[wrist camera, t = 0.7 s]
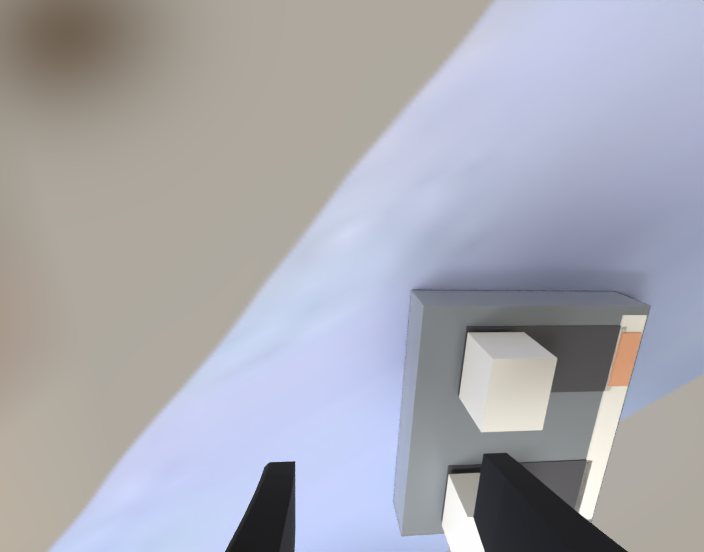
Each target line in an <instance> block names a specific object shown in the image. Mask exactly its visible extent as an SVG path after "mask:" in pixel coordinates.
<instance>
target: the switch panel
mask: <svg viewBox="0 0 704 552" xmlns="http://www.w3.org/2000/svg"><path fill="white" fill-rule="evenodd" d="M649 310H650V306H649V305H647V304H644V303H642V302H639V301H637V300H635V299H632V298H630V297H627V296H625V295H622V294H620V293H617V292H615V291H478V290H411V298H410V310H409V321H408V333H407V345H406V356H405V368H404V380H403V391H402V403H401V414H400V426H399V438H398V449H397V461H396V473H395V484H394V496H393V503H394V508H395V512H396V516H397V520H398V524H399V529H400V533H401V536H414V535H429V534H445V533H444V530H443V527H442V521H443V513H444V506H445V498H446V491H447V483H448V476H449V474H463V473H480V472H481V466H482V460H483V454H487V453H507V454H509V455H510V456H511V457H512V458H514V459H515V460H516V461H517V462H519V463H520V464H521V465H522V466H523V467H525V468H526V469H527V470H528V471H529V472H531V473H532V474H533V475H534V476H535V477H536V478H538V479H539V480H540V481H541V482H542V483H544V484H545V485H546V486H547V487H548V488H549V489H551V490H552V491H553V492H554V493H555V494H557V495H558V496H559V497H560V498H561V499H562V500H564V501H565V502H566V503H567V504H568V505H570V506H571V507H572V508H573V509H575V510H576V511H577V512H578V513H579V514H581V515H582V516H583V517H584V518H585V519H587V520H588V521H589V522H590V523H591V522H592V519H593V515H594V511H595V508H596V504H597V500H598V497H599V493H600V489H601V486H602V482H603V478H604V475H605V471H606V467H607V464H608V460H609V456H610V453H611V449H612V445H613V441H614V438H615V434H616V430H617V427H618V423H619V420H620V416H621V413H622V409H623V405H624V402H625V398H626V394H627V391H628V387H629V383H630V380H631V376H632V372H633V369H634V365H635V361H636V358H637V354H638V350H639V347H640V343H641V339H642V336H643V332H644V328H645V325H646V321H647V317H648V314H649ZM468 332H524V333H526V334H527V335H528V336H530V337H531V338H532V339H533V340H535V341H536V342H537V343H539V344H540V345H541V346H542V347H544V348H545V349H546V350H548V351H549V352H550V353H551V354H553V355H554V356H555V357H557V363H556V368H555V372H554V377H553V382H552V387H551V391H550V396H549V401H548V406H547V411H546V415H545V420H544V425H543V430H532V431H504V432H481V431H480V430H479V428H478V427H477V425H476V423H475V422H474V420H473V419H472V417H471V415H470V414H469V412H468V411H467V409H466V408H465V406H464V404H463V403H462V401H461V400H460V398H459V394H460V386H461V379H462V371H463V364H464V356H465V349H466V341H467V334H468Z"/></svg>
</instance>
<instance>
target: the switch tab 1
mask: <svg viewBox="0 0 704 552" xmlns="http://www.w3.org/2000/svg"><path fill="white" fill-rule="evenodd" d="M479 478H480V473H463V474H449V476H448V483H447V491H446V498H445V506H444V513H443V521H442V527H443V530H444V533H445V536H446V539H447V541H448V544H449V547H450V550H451V552H485V551H484V548H483V545H482V543H481V540H480V536H479V533H478V530H477V527H476V524H475V521H474V518H473V516H474V509H475V503H476V497H477V491H478V485H479Z"/></svg>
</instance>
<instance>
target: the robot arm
mask: <svg viewBox="0 0 704 552" xmlns="http://www.w3.org/2000/svg"><path fill="white" fill-rule="evenodd" d="M473 518H474V521H475V524H476V527H477V530H478V533H479V536H480V540H481V543H482V545H483V548H484V551H485V552H627V551H626V550H625V549H624V548H622V547H621V546H620V545H618V544H617V543H615V542H614V541H613V540H612V539H610V538H609V537H608V536H607V535H605V534H604V533H603V532H602V531H600V530H599V529H598V528H597V527H595V526H594V525H593V524H592V523H590V522H589V521H588V520H587V519H585V518H584V517H583V516H582V515H581V514H579V513H578V512H577V511H576V510H575V509H573V508H572V507H571V506H570V505H568V504H567V503H566V502H565V501H564V500H562V499H561V498H560V497H559V496H558V495H557V494H555V493H554V492H553V491H552V490H551V489H549V488H548V487H547V486H546V485H545V484H544V483H542V482H541V481H540V480H539V479H538V478H536V477H535V476H534V475H533V474H532V473H531V472H529V471H528V470H527V469H526V468H525V467H523V466H522V465H521V464H520V463H519V462H517V461H516V460H515V459H514V458H512V457H511V456H510V455H509V454H507V453H487V454H483V460H482V466H481V472H480V478H479V485H478V491H477V497H476V503H475V509H474V516H473ZM294 548H295V461H294V462H270V463H268V464H267V465H266V466H265V467H264V470H263V473H262V476H261V479H260V481H259V484H258V486H257V489H256V491H255V493H254V495H253V498H252V500H251V502H250V504H249V506H248V508H247V510H246V512H245V515H244V517H243V519H242V520H241V522H240V524H239V526H238V528H237V530H236V532H235V534H234V536H233V538H232V540H231V541H230V543H229V545H228V547H227V549H226V551H225V552H294Z"/></svg>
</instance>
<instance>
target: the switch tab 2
mask: <svg viewBox="0 0 704 552" xmlns="http://www.w3.org/2000/svg"><path fill="white" fill-rule="evenodd" d="M556 363H557V357H555V356H554V355H553V354H551V353H550V352H549V351H548V350H546V349H545V348H544V347H542V346H541V345H540V344H539V343H537V342H536V341H535V340H533V339H532V338H531V337H530V336H528V335H527V334H526V333H524V332H468V334H467V341H466V349H465V356H464V364H463V371H462V379H461V386H460V394H459V398H460V400H461V401H462V403H463V404H464V406H465V408H466V409H467V411H468V412H469V414H470V415H471V417H472V419H473V420H474V422H475V423H476V425H477V427H478V428H479V430H480V431H481V432H504V431H532V430H543V425H544V420H545V415H546V411H547V406H548V401H549V396H550V391H551V387H552V382H553V377H554V372H555V368H556Z"/></svg>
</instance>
